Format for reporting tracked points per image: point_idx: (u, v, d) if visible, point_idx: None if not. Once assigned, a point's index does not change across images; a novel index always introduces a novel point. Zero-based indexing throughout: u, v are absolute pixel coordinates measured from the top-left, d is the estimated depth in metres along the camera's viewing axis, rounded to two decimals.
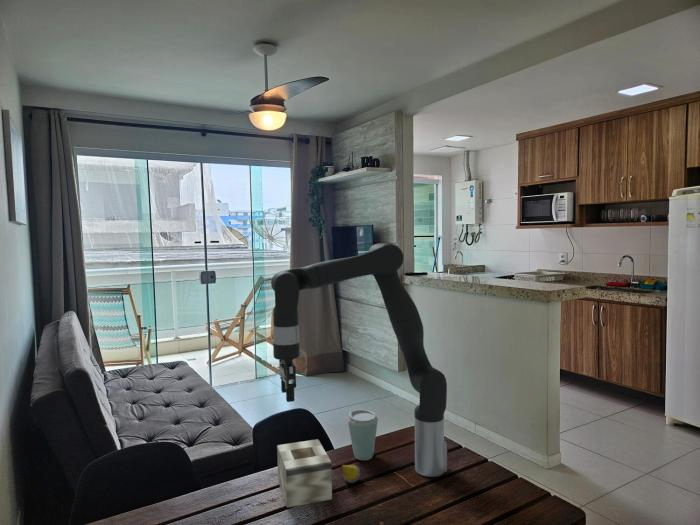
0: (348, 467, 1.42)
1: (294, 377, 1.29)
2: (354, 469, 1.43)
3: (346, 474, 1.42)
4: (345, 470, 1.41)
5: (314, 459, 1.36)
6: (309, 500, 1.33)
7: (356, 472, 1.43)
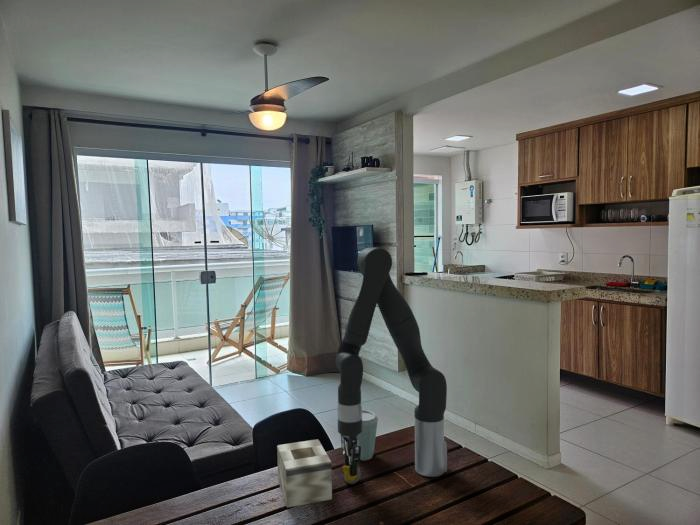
0: (348, 468, 1.41)
1: (359, 456, 1.38)
2: None
3: (346, 475, 1.41)
4: (345, 471, 1.41)
5: (314, 459, 1.36)
6: (309, 500, 1.33)
7: None
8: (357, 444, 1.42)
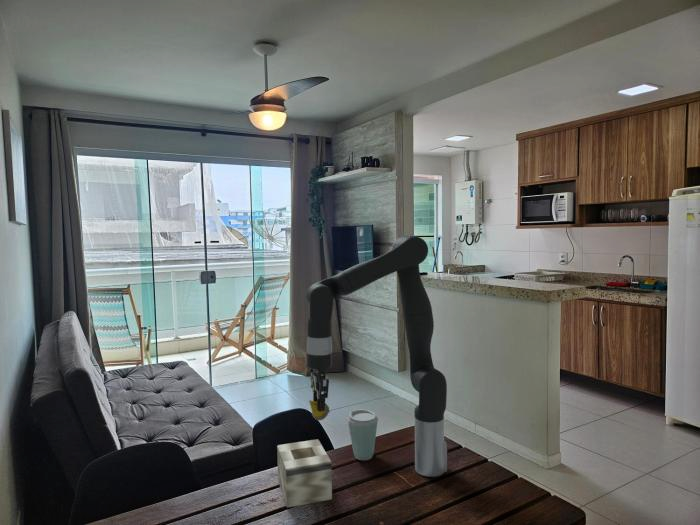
0: (316, 403, 1.38)
1: (327, 389, 1.34)
2: None
3: (314, 410, 1.38)
4: (313, 406, 1.37)
5: (314, 459, 1.36)
6: (309, 500, 1.33)
7: None
8: (326, 379, 1.38)
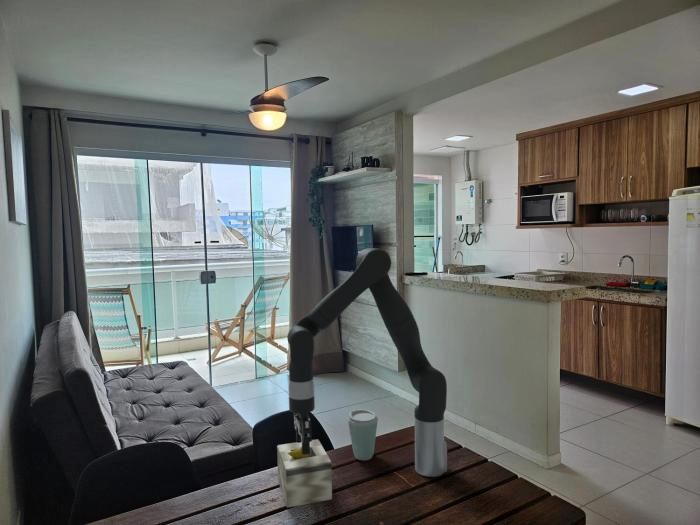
0: (296, 452, 1.37)
1: (310, 431, 1.33)
2: None
3: None
4: (293, 456, 1.37)
5: (314, 459, 1.36)
6: (309, 500, 1.33)
7: None
8: None
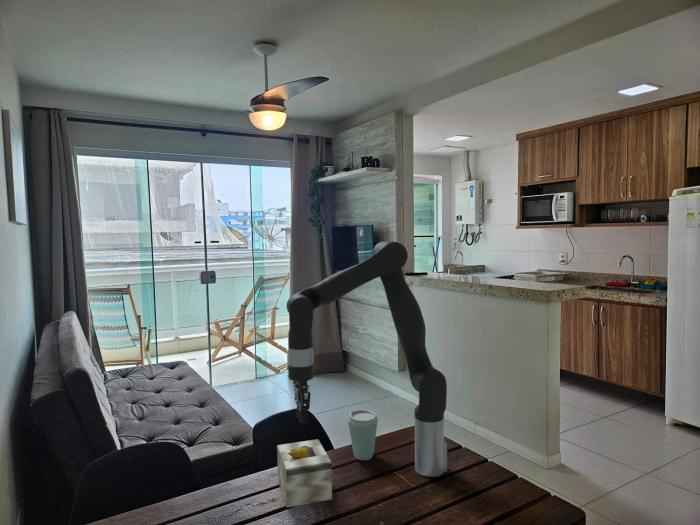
0: (296, 452, 1.37)
1: (308, 402, 1.34)
2: (303, 451, 1.38)
3: None
4: (293, 456, 1.37)
5: (314, 459, 1.36)
6: (309, 500, 1.33)
7: (307, 453, 1.38)
8: (308, 391, 1.37)
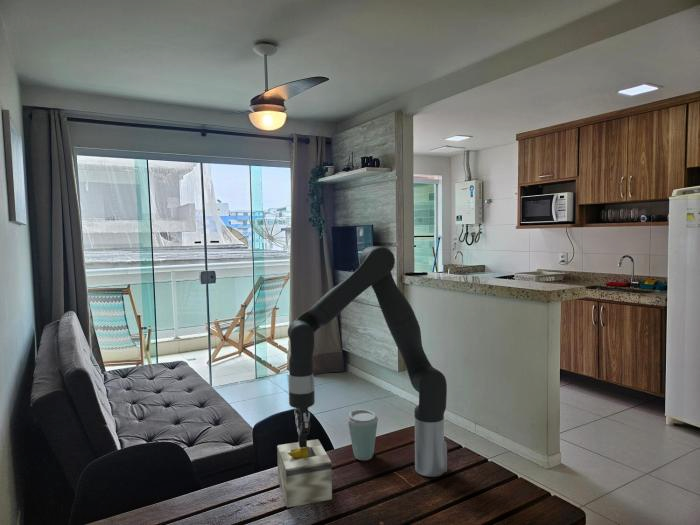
0: (296, 452, 1.37)
1: (308, 430, 1.35)
2: (303, 451, 1.38)
3: None
4: (293, 456, 1.37)
5: (314, 459, 1.36)
6: (309, 500, 1.33)
7: (307, 453, 1.38)
8: (308, 417, 1.38)
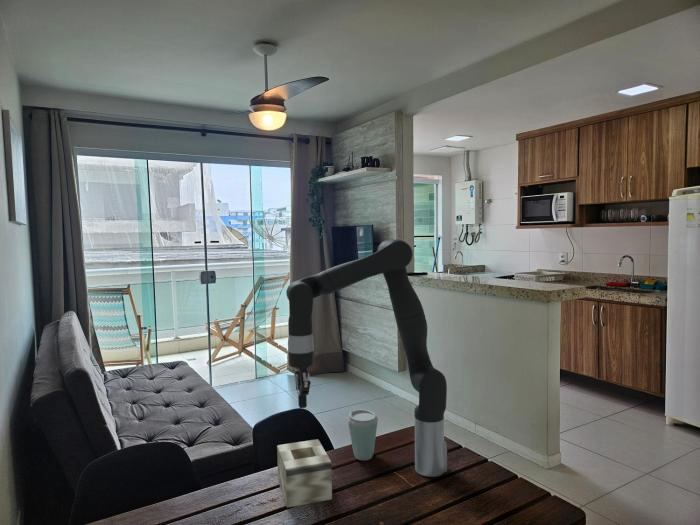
0: None
1: (308, 389, 1.35)
2: None
3: None
4: None
5: (314, 459, 1.36)
6: (309, 500, 1.33)
7: None
8: (308, 378, 1.38)
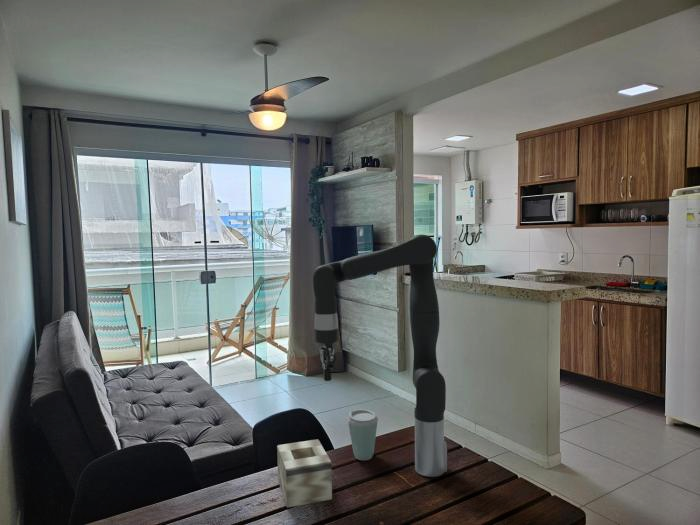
0: None
1: (333, 363, 1.47)
2: None
3: None
4: None
5: (314, 459, 1.36)
6: (309, 500, 1.33)
7: None
8: (333, 353, 1.50)
